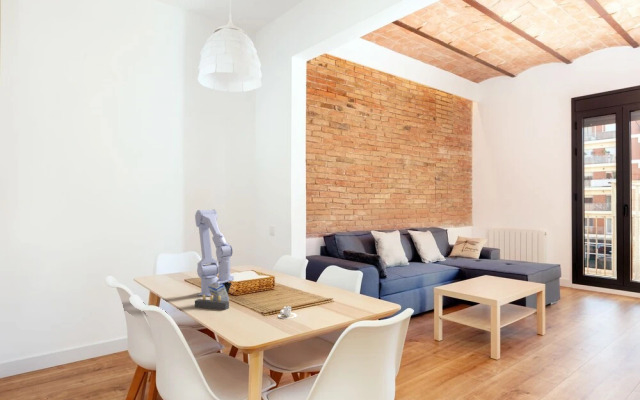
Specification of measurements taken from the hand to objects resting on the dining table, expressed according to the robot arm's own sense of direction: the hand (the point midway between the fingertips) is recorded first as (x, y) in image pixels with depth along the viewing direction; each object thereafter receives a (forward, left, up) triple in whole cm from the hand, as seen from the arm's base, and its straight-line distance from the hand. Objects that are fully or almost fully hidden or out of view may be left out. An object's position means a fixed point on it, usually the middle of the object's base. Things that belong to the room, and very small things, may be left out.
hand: (224, 297), depth 188 cm
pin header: (+11, 0, -1) cm, 11 cm away
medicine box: (+3, 0, -1) cm, 3 cm away
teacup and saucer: (+11, +39, -2) cm, 41 cm away
